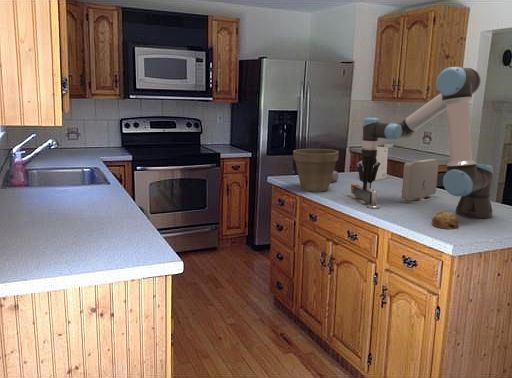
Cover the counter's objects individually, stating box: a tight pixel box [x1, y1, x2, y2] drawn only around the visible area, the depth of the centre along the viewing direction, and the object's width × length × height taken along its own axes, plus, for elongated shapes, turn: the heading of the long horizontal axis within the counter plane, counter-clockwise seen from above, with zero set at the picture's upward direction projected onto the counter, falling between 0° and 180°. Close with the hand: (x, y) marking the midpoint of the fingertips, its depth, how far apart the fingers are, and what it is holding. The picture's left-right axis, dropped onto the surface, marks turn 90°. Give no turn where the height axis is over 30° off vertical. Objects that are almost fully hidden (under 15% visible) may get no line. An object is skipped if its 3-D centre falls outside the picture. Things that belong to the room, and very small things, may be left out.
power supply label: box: [355, 199, 371, 205], centre depth 232 cm, size 8×7×1 cm
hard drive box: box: [363, 146, 389, 181], centre depth 295 cm, size 16×8×20 cm, turn 130°
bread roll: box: [431, 210, 460, 230], centre depth 191 cm, size 10×10×8 cm
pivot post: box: [366, 189, 381, 210], centre depth 221 cm, size 6×6×8 cm
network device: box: [401, 158, 440, 204], centre depth 238 cm, size 26×9×20 cm, turn 129°
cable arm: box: [350, 183, 372, 203], centre depth 235 cm, size 24×3×5 cm, turn 10°
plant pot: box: [292, 148, 339, 193], centre depth 259 cm, size 25×25×22 cm
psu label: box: [346, 194, 362, 200], centre depth 243 cm, size 8×7×1 cm
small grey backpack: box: [330, 170, 339, 184], centre depth 284 cm, size 15×8×20 cm
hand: (366, 194), depth 239 cm, fingers closed
